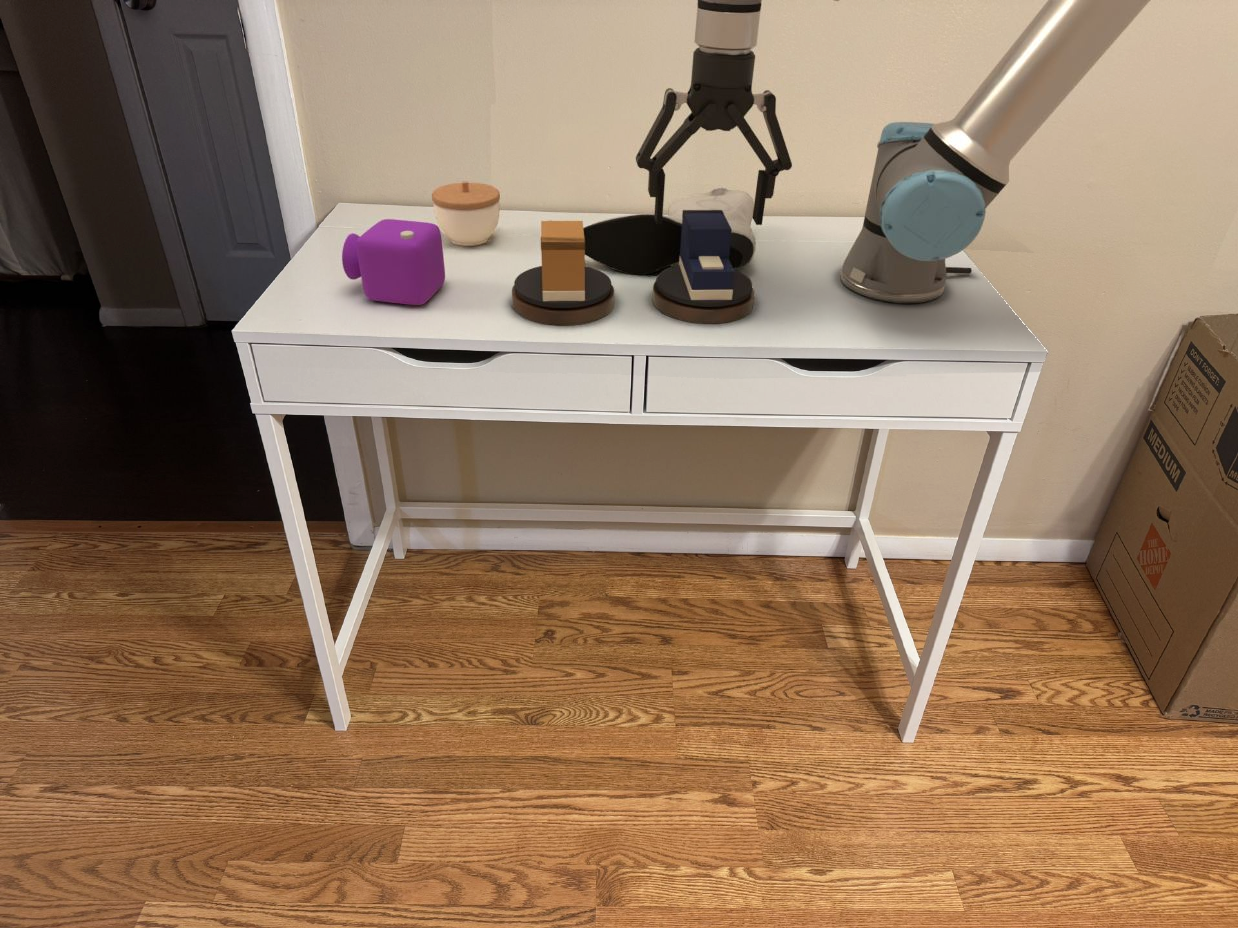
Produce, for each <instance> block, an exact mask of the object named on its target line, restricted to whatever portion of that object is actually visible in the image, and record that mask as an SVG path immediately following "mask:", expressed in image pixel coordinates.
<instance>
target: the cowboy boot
mask: <svg viewBox="0 0 1238 928" xmlns="http://www.w3.org/2000/svg"><path fill="white" fill-rule="evenodd" d="M683 210H722V211H723V213H724V215H725V217H726V219H727V221H728V223H729V225H730V227H731V229H732V232H731V242H730V251H729V261H730V263H731V265H732V267H733V269H735V270H736V269H740V268H742V267H745V266H746V265H748V264H749V263H750V261H751V260H752V258H753V257H754V255H755V252H756V239H755V237H754V234H753V232H752V227H751V226H752V220H753V218H752V217H753V210H754V199H753V197H752V196H751V194H750V193H748V192H747V191H745V190H740V189H727V188H725V187H718V188H714V189H713V190H711V191H709V192H706V193H697V194H693V195H688V196H684V197H683V196H682V197H678V198H676V199H673V200H672V201H671V202H670V203H669V205H668V211H667V215H665V214H663V217H662V224H656V221H655V218H654V214H655V213H637V214H629V215H622V216H616V217H609V218H606V219H603V220H599V221H596V222H593V223H590V224H589V225H586V226H583V230H584V237H585V257H587V258H589V259H592V260H593V261H595V262H597V263H599V264H601V265H603V266H606V267H608V268H610V269H613V270H615V271H618V272H621V273H625V274H628V275H635V276H645V275H650V274H653V273H656V272H658V271H660V270H662V269H663V270H664V269H666V267H673V266H676V265H679V258H680V247H681V232H682V213H683Z"/></svg>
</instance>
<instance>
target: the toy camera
mask: <svg viewBox="0 0 1238 928" xmlns="http://www.w3.org/2000/svg"><path fill="white" fill-rule="evenodd" d="M441 232H442V231H441V229H440V227H439V225H438V224H435V223H432V222H427V221H415V220H404V219H394V218H386V219H381V220H380V221H378V222H376V223H375V224H374V225H372V226H371V227H370V228H368V229H367V230H366V231H365V232H363V233H362V234H361V235H359V234H356V233H353V232H352V233H349V235H348V236H346V238H345V241H344V243H343V246H342V252H341V264H342V268H343V271H344V274H345V275H346V277H347V278H348V279H349V280H358V279H360V278H361V285H362V289H363V293H364V295H365V297H366V298H367V299H368V300H372V301H376V302H382V303H390V304H391V303H392V304H402V305H409V306H410V305H411V306H420V305H424V304H426V303H427V302H428V301H429V300H430V299H431V298H432V297H433V296H434V295H435V293H436V292H437V291H438V290H439V289H440V288H441V287H442V286H443V284H444V283H445V281H446V268H445V259H444V248H443V239H442V233H441Z"/></svg>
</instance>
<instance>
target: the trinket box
mask: <svg viewBox="0 0 1238 928" xmlns="http://www.w3.org/2000/svg"><path fill="white" fill-rule="evenodd" d="M500 193H501V192H500V191H499V189H498V188H497V187H495V186H493V185H491V184H485V183H481V182H480V183H479V182H469V181H467V180H465V181H462V182H456V183H449V184H445V185H442V186H440V187H437V188H435V189H434V190H433V191H432V193H431V200H432V203H433V210H434V216H435V220H436V222H437V226H438V227H439V229H440V232H442V233H443V235H445V237H447V238H448V239H450V242H451V243H452V244H454V245H456V246H462V247H476V246H481V245H484V244H485V243H487V242H488V241H489V239H490V237H491V236H492V235H493V234H494V233H495V231H496V229H497V227H498V224H499V220H500V212H501V209H500V207H501V206H500V205H501V203H500V198H501V194H500Z"/></svg>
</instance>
